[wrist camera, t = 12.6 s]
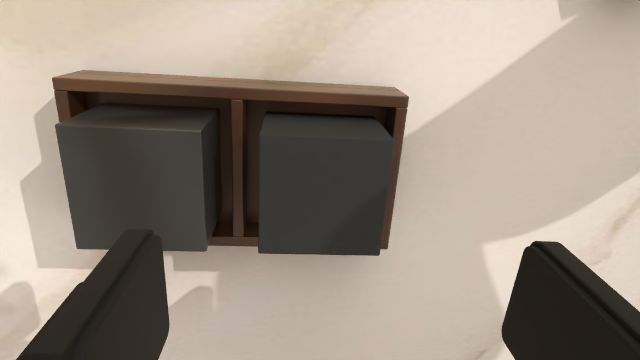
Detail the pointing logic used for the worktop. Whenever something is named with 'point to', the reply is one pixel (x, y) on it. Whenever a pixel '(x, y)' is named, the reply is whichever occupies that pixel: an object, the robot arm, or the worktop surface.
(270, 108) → the partitioned wooden crate
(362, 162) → the block
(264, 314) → the worktop surface
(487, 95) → the worktop surface
